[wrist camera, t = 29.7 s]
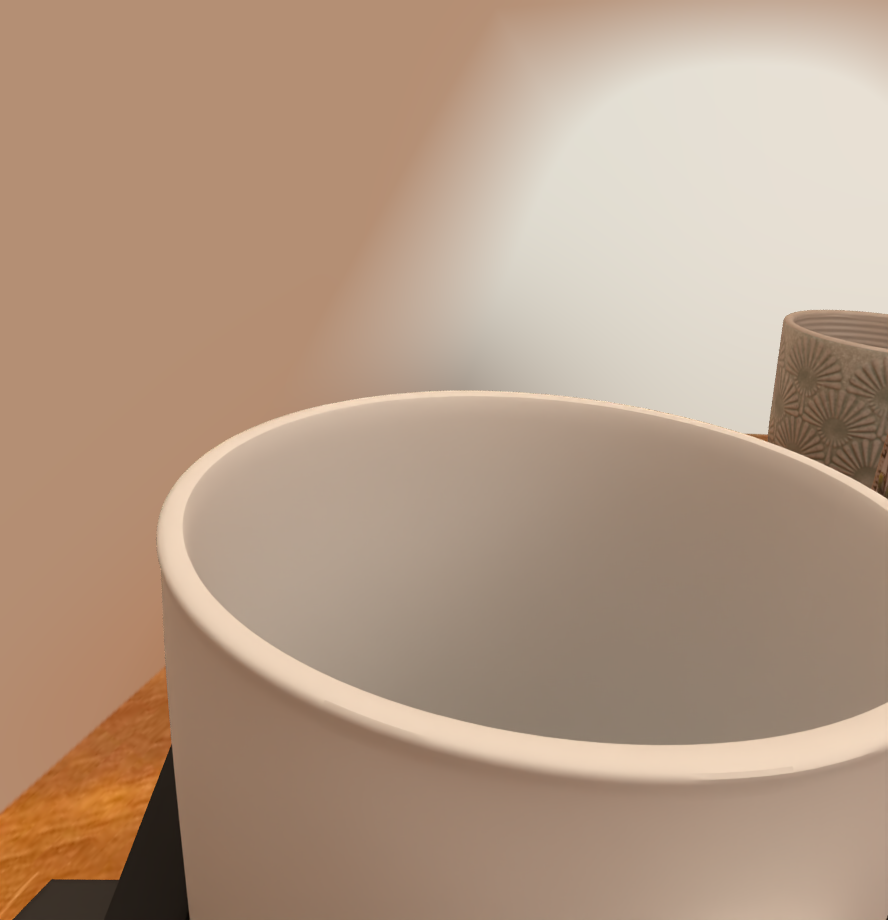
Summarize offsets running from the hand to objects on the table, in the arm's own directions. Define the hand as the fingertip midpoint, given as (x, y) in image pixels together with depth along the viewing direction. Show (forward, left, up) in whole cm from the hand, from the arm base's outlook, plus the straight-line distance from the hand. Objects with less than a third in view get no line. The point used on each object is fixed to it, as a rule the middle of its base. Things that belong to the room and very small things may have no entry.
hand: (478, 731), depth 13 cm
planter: (+38, +53, -19) cm, 68 cm away
